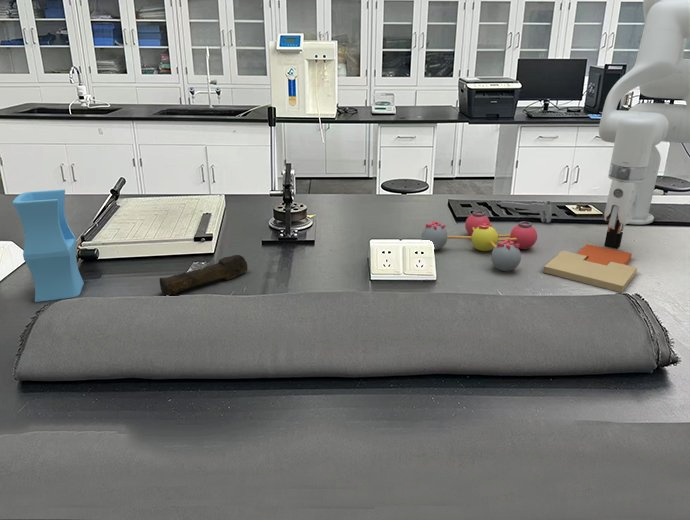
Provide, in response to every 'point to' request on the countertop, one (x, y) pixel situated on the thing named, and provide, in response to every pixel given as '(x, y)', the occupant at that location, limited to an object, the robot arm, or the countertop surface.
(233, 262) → the hand tool
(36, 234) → the vase
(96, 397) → the countertop surface
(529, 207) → the caliper
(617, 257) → the tab pad
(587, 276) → the notch pad
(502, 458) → the countertop surface
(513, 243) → the molecule model
